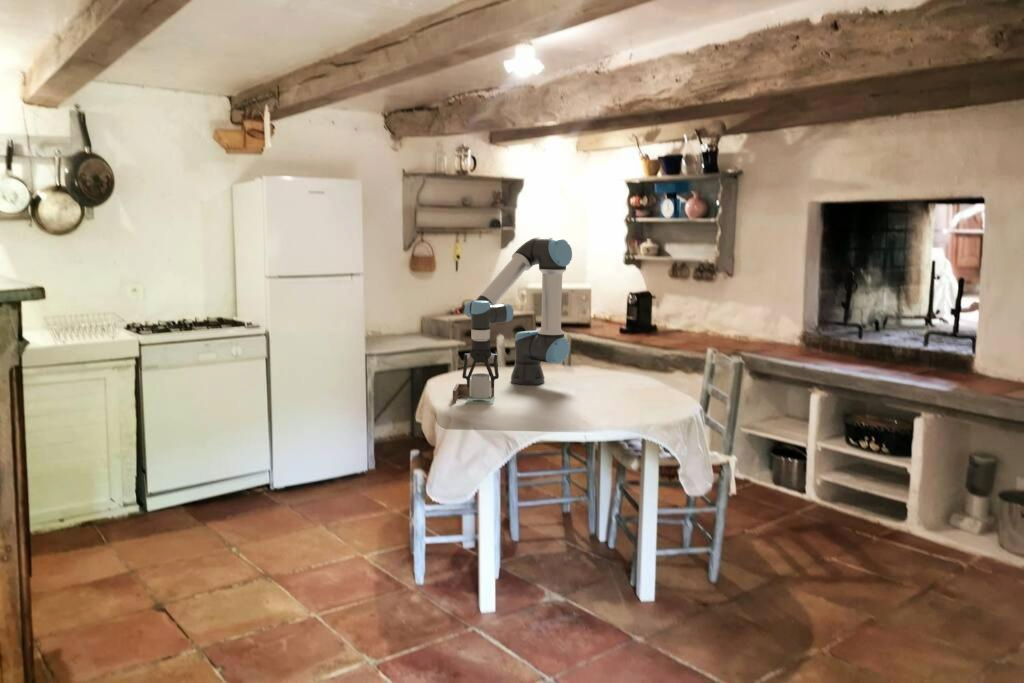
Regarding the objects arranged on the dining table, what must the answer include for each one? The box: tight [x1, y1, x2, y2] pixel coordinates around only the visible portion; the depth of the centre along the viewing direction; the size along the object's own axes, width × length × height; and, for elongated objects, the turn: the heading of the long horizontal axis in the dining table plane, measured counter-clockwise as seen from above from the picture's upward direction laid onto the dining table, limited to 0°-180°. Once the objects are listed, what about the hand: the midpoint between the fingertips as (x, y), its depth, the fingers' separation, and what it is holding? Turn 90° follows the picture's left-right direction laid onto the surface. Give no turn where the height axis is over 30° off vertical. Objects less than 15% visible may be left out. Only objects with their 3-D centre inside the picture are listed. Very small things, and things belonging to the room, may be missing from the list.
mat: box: [465, 396, 496, 405], centre depth 321 cm, size 11×12×1 cm
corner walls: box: [452, 383, 495, 404], centre depth 322 cm, size 16×14×5 cm
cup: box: [470, 372, 490, 399], centre depth 320 cm, size 7×10×9 cm
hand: (480, 395), depth 321 cm, fingers closed on cup, 7 cm apart
